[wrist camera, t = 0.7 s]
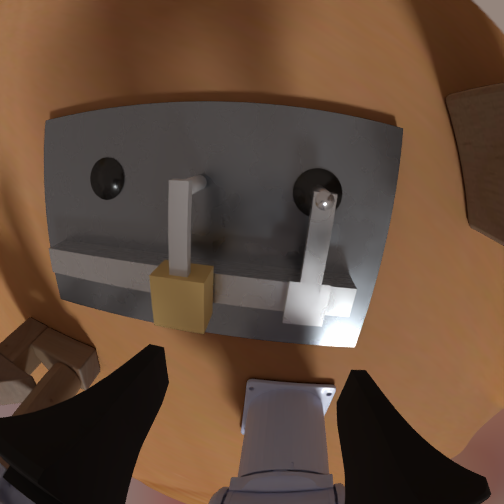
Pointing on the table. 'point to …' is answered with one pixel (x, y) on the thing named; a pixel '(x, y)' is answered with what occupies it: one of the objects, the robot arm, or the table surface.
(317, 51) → the table surface
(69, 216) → the hole plate
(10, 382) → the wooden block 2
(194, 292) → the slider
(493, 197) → the wooden block
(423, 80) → the table surface
